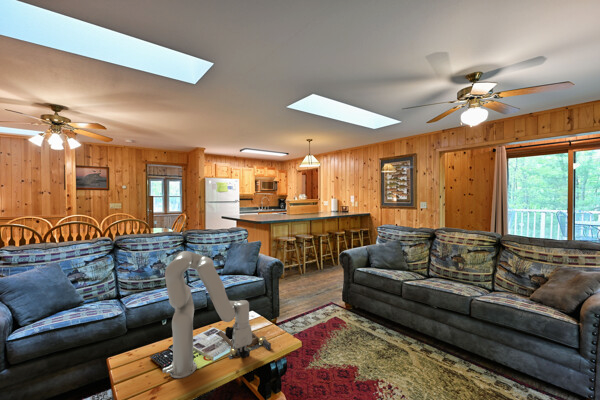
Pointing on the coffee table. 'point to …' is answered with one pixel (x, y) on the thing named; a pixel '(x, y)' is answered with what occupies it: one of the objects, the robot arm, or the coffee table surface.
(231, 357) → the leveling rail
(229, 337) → the film camera
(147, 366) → the coffee table surface
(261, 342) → the lever right
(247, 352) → the lever left
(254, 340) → the dock
